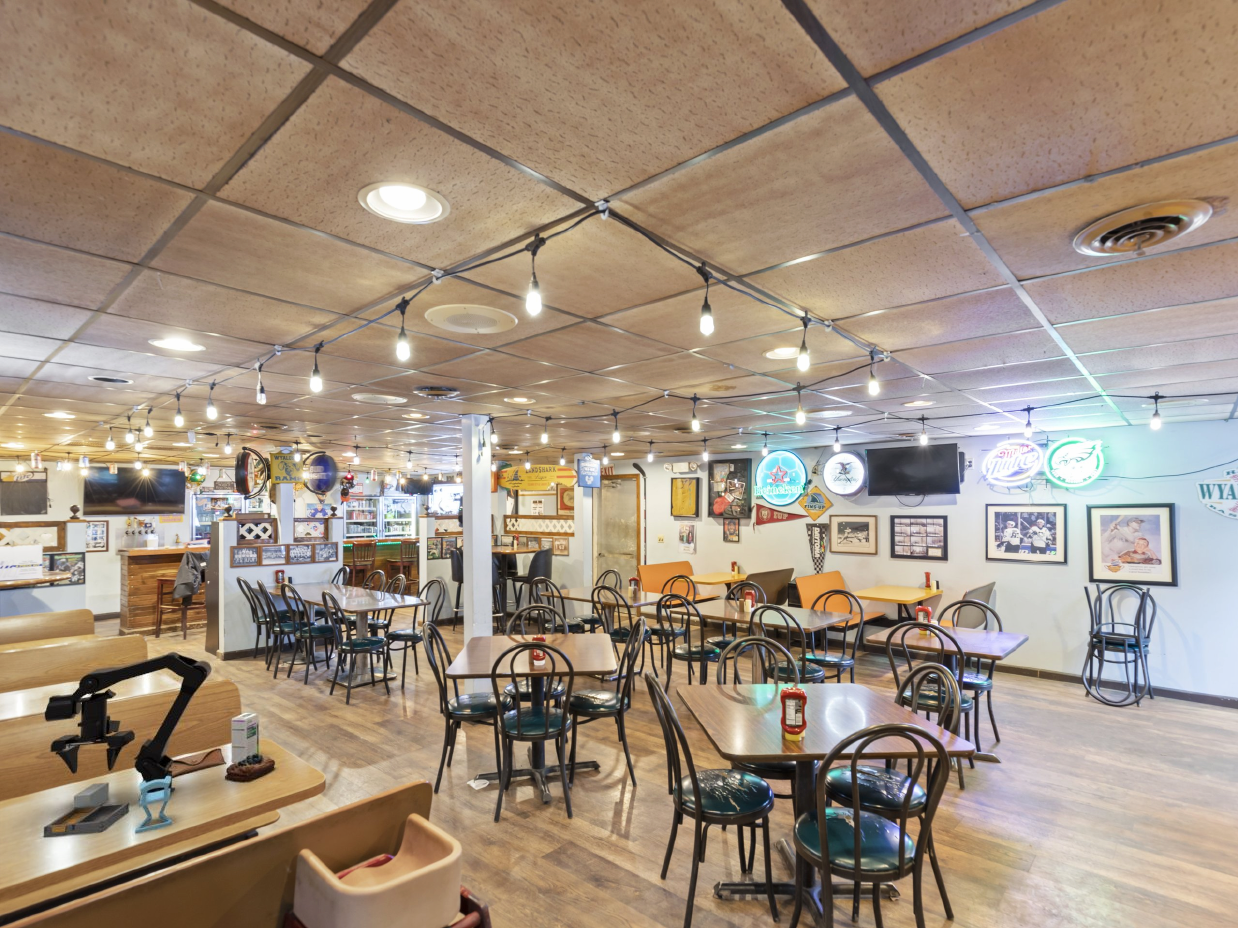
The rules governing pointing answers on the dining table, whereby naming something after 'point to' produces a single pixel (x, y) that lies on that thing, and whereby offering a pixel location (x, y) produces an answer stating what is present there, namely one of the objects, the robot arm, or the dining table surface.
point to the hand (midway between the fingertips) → (92, 771)
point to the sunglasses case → (196, 762)
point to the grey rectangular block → (92, 795)
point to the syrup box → (245, 736)
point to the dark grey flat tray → (86, 819)
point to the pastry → (249, 768)
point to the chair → (153, 798)
